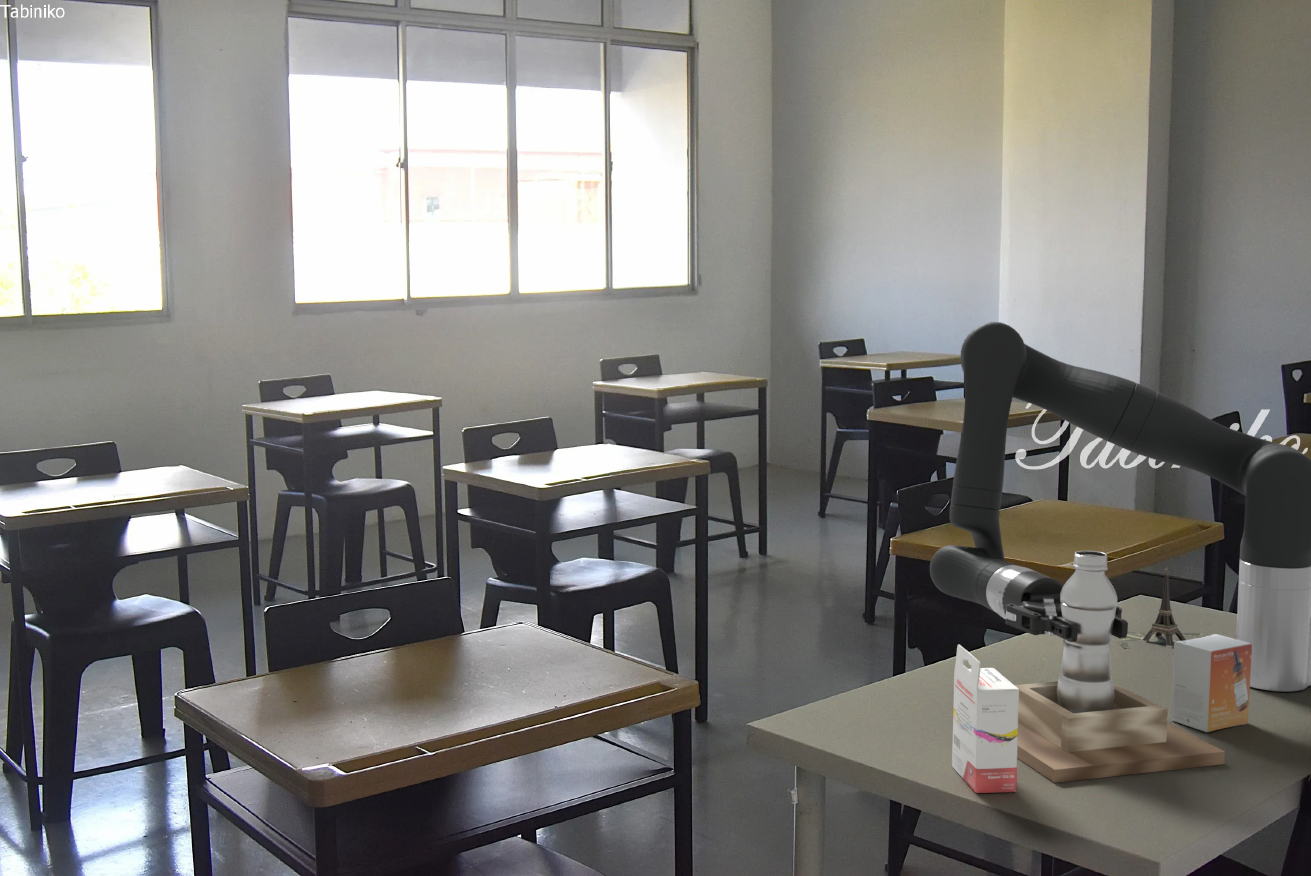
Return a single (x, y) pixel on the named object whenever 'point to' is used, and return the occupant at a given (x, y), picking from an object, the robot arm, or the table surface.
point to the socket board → (1103, 737)
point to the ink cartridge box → (984, 726)
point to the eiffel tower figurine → (1160, 625)
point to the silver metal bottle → (1088, 636)
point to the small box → (1211, 682)
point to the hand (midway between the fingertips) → (1099, 631)
